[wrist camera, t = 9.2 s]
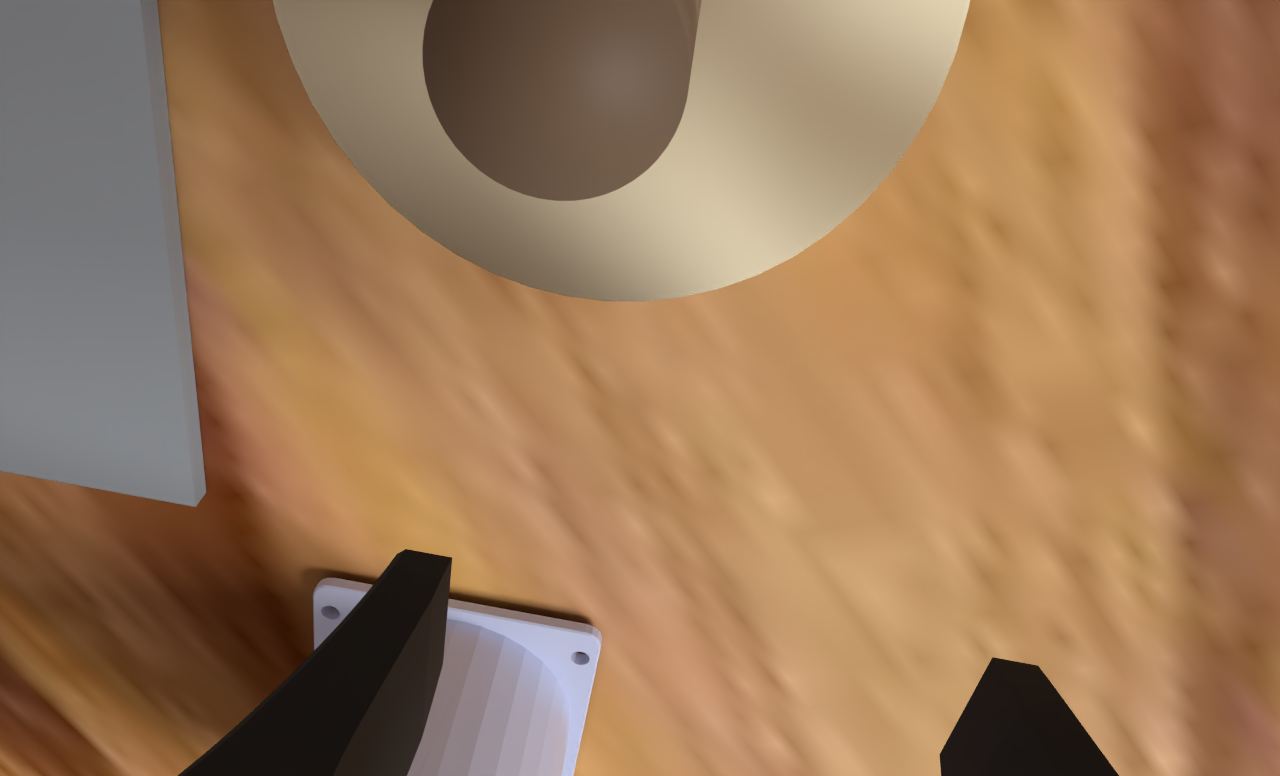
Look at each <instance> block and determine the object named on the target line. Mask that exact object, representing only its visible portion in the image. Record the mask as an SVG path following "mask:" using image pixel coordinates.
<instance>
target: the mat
mask: <svg viewBox="0 0 1280 776" xmlns="http://www.w3.org/2000/svg"><path fill="white" fill-rule="evenodd" d="M0 471H4V472H9V473H14V474H20V475H25V476H31V477H36V478H41V479H47V480H52V481H58V482H63V483H69V484H74V485H79V486H85V487H90V488H96V489H101V490H107V491H112V492H117V493H123V494H128V495H134V496H139V497H144V498H150V499H155V500H161V501H166V502H172V503H177V504H182V505H188V506H193V507H196V506H197V504H198V503H199V502H200V500H201V499H202V498H203V496H204V495H205V494H206V483H205V473H204V463H203V453H202V443H201V433H200V423H199V413H198V403H197V393H196V383H195V373H194V363H193V353H192V343H191V333H190V323H189V313H188V303H187V293H186V283H185V273H184V263H183V253H182V243H181V233H180V223H179V213H178V203H177V193H176V183H175V173H174V163H173V153H172V143H171V133H170V123H169V113H168V103H167V93H166V83H165V73H164V63H163V53H162V43H161V33H160V23H159V13H158V3H157V0H0Z"/></svg>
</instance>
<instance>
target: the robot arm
mask: <svg viewBox="0 0 1280 776" xmlns="http://www.w3.org/2000/svg"><path fill="white" fill-rule="evenodd" d="M451 564H452V558H451V557H445V556H440V555H434V554H429V553H424V552H418V551H413V550H407V549H406V550H404V551H402V552H400V553H398V554H397V555H396V556H395V558H394V559H393V560H392V562H391V563H390V564H389V566H388V567H387V568H386V570H385V571H384V572H383V573H382V575H381V576H380V577H379V578H378V580H377V581H376V582H375V583H374V585H372V584H366V583H361V582H355V581H350V580H344V579H339V578H325V579H322V580H321V581H320V582H319V583H318V584H317V586H316V588H315V590H314V593H313V619H314V651H313V653H312V654H311V655H310V656H309V657H308V658H307V659H306V660H305V661H304V662H303V663H302V664H301V665H300V666H299V667H298V668H297V669H296V670H295V671H294V672H293V673H292V674H291V675H290V676H289V677H288V678H287V679H286V680H285V681H284V682H283V683H282V684H281V685H280V686H279V687H278V688H277V689H275V690H274V691H273V692H272V693H271V694H270V695H269V696H268V697H267V698H266V699H265V700H264V701H263V702H262V703H261V704H260V705H259V706H258V707H256V708H255V709H254V710H253V711H252V712H251V713H250V714H249V715H248V716H247V717H246V718H245V719H244V720H243V721H242V722H240V723H239V724H238V725H237V726H236V727H235V728H234V729H233V730H231V731H230V732H229V733H228V734H227V735H226V736H225V737H223V738H222V739H221V740H220V741H219V742H218V743H217V744H215V745H214V746H213V747H212V748H211V749H210V750H208V751H207V752H206V753H205V754H204V755H202V756H201V757H200V758H199V759H198V760H196V761H195V762H194V763H193V764H191V765H190V766H189V767H188V768H187V769H185V770H184V771H183V772H182V773H180V774H179V775H178V776H573V774H574V770H575V765H576V760H577V756H578V751H579V746H580V742H581V737H582V733H583V728H584V723H585V719H586V714H587V709H588V705H589V700H590V695H591V691H592V686H593V681H594V677H595V672H596V667H597V663H598V658H599V653H600V649H601V643H602V635H601V633H600V631H599V630H598V629H597V628H595V627H594V626H591V625H588V624H584V623H579V622H573V621H568V620H563V619H557V618H552V617H546V616H541V615H535V614H530V613H524V612H519V611H513V610H508V609H503V608H497V607H492V606H486V605H481V604H475V603H470V602H464V601H459V600H453V599H449V588H450V576H451ZM330 606H332V607H335V608H336V609H334V608H331V607H330ZM577 652H583V653H586V654H580V653H577ZM940 764H941V776H1119V775H1118V774H1117V772H1116V771H1115V770H1114V768H1113V767H1112V766H1111V764H1110V763H1109V762H1108V760H1107V759H1106V757H1105V756H1104V755H1103V753H1102V752H1101V751H1100V749H1099V748H1098V747H1097V745H1096V744H1095V742H1094V741H1093V740H1092V738H1091V737H1090V736H1089V734H1088V733H1087V732H1086V730H1085V729H1084V727H1083V726H1082V725H1081V723H1080V722H1079V721H1078V719H1077V718H1076V716H1075V715H1074V714H1073V712H1072V711H1071V710H1070V708H1069V707H1068V705H1067V704H1066V703H1065V701H1064V700H1063V699H1062V697H1061V696H1060V694H1059V693H1058V692H1057V690H1056V689H1055V688H1054V686H1053V685H1052V684H1051V682H1050V681H1049V680H1048V678H1047V677H1046V676H1045V674H1044V673H1043V672H1042V670H1041V669H1040V668H1039V667H1038V666H1036V665H1031V664H1025V663H1020V662H1015V661H1009V660H1004V659H998V658H992V660H991V661H990V663H989V665H988V667H987V669H986V671H985V672H984V674H983V676H982V678H981V680H980V682H979V683H978V685H977V687H976V689H975V691H974V693H973V694H972V696H971V698H970V700H969V702H968V704H967V705H966V707H965V709H964V711H963V713H962V715H961V716H960V718H959V720H958V722H957V724H956V726H955V727H954V729H953V731H952V733H951V735H950V737H949V738H948V740H947V742H946V744H945V746H944V748H943V749H942V751H941V753H940Z"/></svg>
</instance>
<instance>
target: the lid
mask: <svg viewBox="0 0 1280 776" xmlns="http://www.w3.org/2000/svg"><path fill="white" fill-rule="evenodd" d="M969 4H970V0H273V5H274V9H275V14H276V17H277V20H278V23H279V26H280V29H281V31H282V34H283V37H284V40H285V43H286V46H287V49H288V52H289V55H290V58H291V60H292V63H293V65H294V67H295V69H296V71H297V73H298V75H299V77H300V80H301V82H302V84H303V86H304V88H305V90H306V92H307V95H308V97H309V99H310V101H311V103H312V104H313V106H314V108H315V109H316V111H317V113H318V114H319V116H320V117H321V119H322V121H323V122H324V124H325V126H326V127H327V129H328V131H329V132H330V134H331V135H332V137H333V139H334V140H335V142H336V143H337V144H338V145H339V147H340V148H341V149H342V151H343V152H344V153H345V155H346V156H347V157H348V158H349V160H350V161H351V162H352V164H353V165H354V166H355V168H356V169H357V170H358V171H359V173H360V174H361V175H362V176H363V177H364V178H365V179H366V180H367V181H368V182H369V184H370V185H371V186H372V187H373V188H374V189H375V190H376V191H377V192H378V193H379V194H380V195H381V196H382V197H383V198H384V199H385V200H386V201H387V202H388V203H389V204H390V205H391V206H392V207H393V208H394V209H395V210H397V211H398V212H399V213H400V214H401V215H403V216H404V217H405V218H406V219H407V220H409V221H410V222H411V223H412V224H413V225H415V226H416V227H417V228H418V229H419V230H421V231H422V232H423V233H425V234H426V235H428V236H429V237H431V238H432V239H434V240H435V241H437V242H438V243H440V244H441V245H443V246H444V247H446V248H447V249H449V250H450V251H452V252H453V253H455V254H456V255H458V256H460V257H462V258H464V259H466V260H468V261H470V262H472V263H474V264H476V265H478V266H480V267H482V268H484V269H486V270H488V271H490V272H491V273H494V274H497V275H499V276H502V277H505V278H507V279H510V280H513V281H515V282H518V283H521V284H523V285H526V286H529V287H532V288H536V289H540V290H544V291H548V292H552V293H556V294H560V295H564V296H570V297H578V298H586V299H593V300H601V301H652V300H661V299H671V298H680V297H685V296H690V295H694V294H698V293H703V292H707V291H711V290H716V289H720V288H723V287H725V286H728V285H731V284H734V283H737V282H739V281H742V280H745V279H748V278H750V277H753V276H756V275H758V274H760V273H762V272H764V271H766V270H768V269H770V268H772V267H774V266H776V265H778V264H780V263H782V262H784V261H786V260H788V259H790V258H792V257H794V256H795V255H797V254H798V253H800V252H801V251H803V250H804V249H806V248H807V247H809V246H810V245H812V244H813V243H815V242H816V241H818V240H819V239H821V238H822V237H824V236H825V235H827V234H828V233H829V232H830V231H832V230H833V229H834V228H835V227H836V226H837V225H839V224H840V223H841V222H842V221H843V220H845V219H846V218H847V217H848V216H849V215H850V214H852V213H853V212H854V211H855V210H856V209H857V208H859V207H860V206H861V205H862V203H863V202H864V201H865V200H866V199H867V198H868V197H869V196H870V195H871V194H872V193H873V192H874V190H875V189H876V188H877V187H878V186H879V185H880V184H881V183H882V182H883V181H884V180H885V178H886V177H887V176H888V175H889V174H890V173H891V171H892V170H893V168H894V167H895V166H896V164H897V163H898V162H899V160H900V159H901V157H902V156H903V155H904V153H905V152H906V150H907V149H908V148H909V146H910V145H911V144H912V142H913V141H914V139H915V138H916V136H917V134H918V133H919V131H920V129H921V127H922V125H923V124H924V122H925V120H926V118H927V116H928V114H929V113H930V111H931V109H932V107H933V105H934V104H935V102H936V100H937V98H938V96H939V94H940V91H941V89H942V86H943V84H944V81H945V79H946V77H947V74H948V72H949V69H950V67H951V64H952V62H953V59H954V57H955V54H956V52H957V48H958V44H959V41H960V37H961V33H962V30H963V26H964V22H965V19H966V15H967V12H968V8H969Z"/></svg>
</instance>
